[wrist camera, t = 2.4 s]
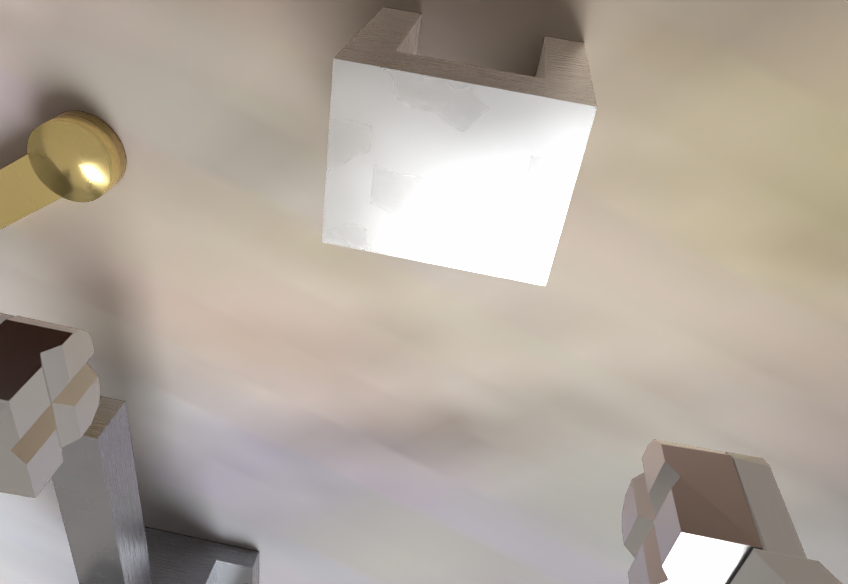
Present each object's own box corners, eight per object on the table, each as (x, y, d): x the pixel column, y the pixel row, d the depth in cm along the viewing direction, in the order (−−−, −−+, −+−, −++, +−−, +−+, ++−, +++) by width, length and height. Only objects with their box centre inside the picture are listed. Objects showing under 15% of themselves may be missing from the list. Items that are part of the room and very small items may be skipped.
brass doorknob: (88, 97, 24) (68, 108, 23) (142, 170, 25) (126, 184, 24) (-39, 171, 26) (-61, 184, 25) (16, 234, 28) (-3, 249, 27)
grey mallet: (258, 356, 29) (148, 557, 21) (259, 630, 42) (188, 824, 34) (37, 311, 30) (-156, 490, 22) (102, 595, 42) (-6, 778, 34)
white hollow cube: (584, 43, 21) (597, 106, 16) (544, 192, 23) (545, 286, 18) (383, 6, 21) (333, 58, 16) (368, 158, 24) (321, 242, 19)
